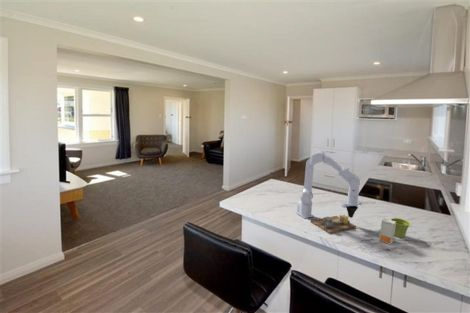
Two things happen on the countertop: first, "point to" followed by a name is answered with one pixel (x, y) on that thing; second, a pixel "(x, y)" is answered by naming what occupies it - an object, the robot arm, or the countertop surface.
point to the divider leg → (344, 219)
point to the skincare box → (387, 231)
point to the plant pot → (400, 227)
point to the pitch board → (333, 229)
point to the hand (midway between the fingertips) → (350, 217)
